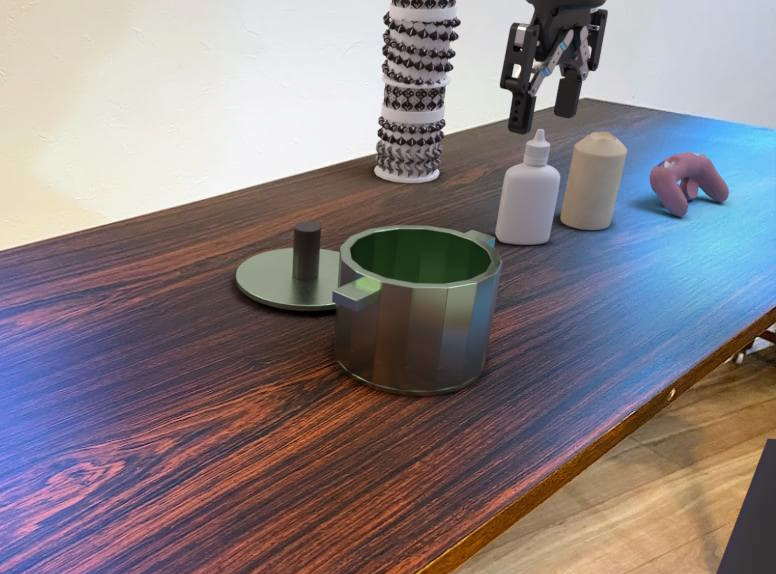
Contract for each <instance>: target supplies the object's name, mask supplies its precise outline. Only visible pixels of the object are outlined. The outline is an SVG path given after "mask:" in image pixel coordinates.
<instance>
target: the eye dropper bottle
mask: <svg viewBox="0 0 776 574" xmlns="http://www.w3.org/2000/svg"><path fill="white" fill-rule="evenodd" d="M550 150H551V143H550V142H548V141H546V139H545V129H544V128H543V129H542V128H538V129H537V130H536V133H535V134H534V138H532V139H531V140H528V141H526V143H525V148H524V155H523V160H522V162H521V163H519V164H515V165H513V166H511V167H509V168H507V170H506V171H505V173H504V177H503V183H502V190H501V196H500V201H499V208H498V214H497V220H496V225H495V230H494V231H495V232H494V234H495V236H496V237H495V238H496V239H497V240H498V242H500V243H502V244H507V245H517V246H534V245H542V244H543V245H544V244H545V243H548V241H549V240H550V237H551V231H552V226H553V220H554V216H555V210H556V206H557V201H558V195H559V189H560V183H561V174H560V172H559V171H558V169H556V168H555V167H553V166H551V165H550V164H548V162H549V161H548V160H549V156H550Z"/></svg>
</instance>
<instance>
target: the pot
mask: <svg viewBox="0 0 776 574" xmlns="http://www.w3.org/2000/svg"><path fill="white" fill-rule="evenodd" d="M495 245H496V237H495V236H493V235H490V234H486V233H484V232H480V231H478V230H474V229H471V230H468V231H466V232H461V231H458V230H455V229H451V228H445V227H437V226H431V225H423V224H421V225H419V224H417V225H415V224H413V225H412V224H409V225H408V224H393V225H387V226H381V227H374V228H373V227H372V228H368V229H366V230H363V231H361V232H358V233H356V234H353V235H350V236H348V238H347V239H346V241H344V243H342V245H341V246H340V247H339V252H340V257H339V272H338V288H337V289H335V290H333V294H332V302H333V303H336V309H335V322H334V336H333V337H334V338H333V347H334V349H333V350H334V353H333V356H334V360H335V362H336V365H337V366H338V368H339V369H340V371H342V372H343V373H344V374H345V375H346V376H347V377H349V378H350V379H352V380H353V381H356V382H357V383H359V384H360V385H363V386H366V387H368V388H370V389H374V390H377V391H380V392H384V393H388V394H393V395H398V396H399V395H401V396H406V397H407V396H408V397H432V396H440V395H446V394H451V393H455V392H458V391H460V390H463V389H465V388H468V387H469V386H471V385H472V384H474V383H475V382H476V381H477V380H478V379H479V378H480V377H481V375H482V373H483V371H484V367H485V364H486V361H487V356H488V351H489V345H490V339H491V333H492V326H493V321H494V315H495V309H496V303H497V298H498V292H499V285H500V281H501V280H500V279H501V275H502V274H501V273H502V268H503V260H502V258H501V255H500V254H499V252H498V250H497V249H496V248H495Z"/></svg>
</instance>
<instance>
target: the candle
mask: <svg viewBox="0 0 776 574" xmlns="http://www.w3.org/2000/svg"><path fill="white" fill-rule="evenodd" d="M627 154H628V149H627V147H626V146H625V145H624V144H623V142H622V141H621V140H619V139H618V138H617V137H616V136H615V135H614V134H612V133H610V132H609V131H593V132H591V133H590V134H587V135H586V136H585V137H583V138H582V139H580V140H579V141H577V142H576V143H575V144H574V145H573V151H572V157H571V162H570V165H569V171H568V176H567V181H566V186H565V191H564V196H563V201H562V206H561V212H560V221H561V223H562V224H564V225H565V226H568V227H571V228H574V229H578V230H583V231H601V230H605V229H607V228H609V227H610V225H611V222H612V220H613V219H612V218H613V215H614V211H615V206H616V201H617V197H618V194H619V189H620V185H621V182H622V181H621V180H622V177H623V172H624V168H625V163H626V159H627Z"/></svg>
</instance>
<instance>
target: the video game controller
mask: <svg viewBox="0 0 776 574" xmlns="http://www.w3.org/2000/svg"><path fill="white" fill-rule="evenodd" d="M678 182H679V183H678ZM649 184H650V188H651V190H652V191H653V193H655V194H656V196H657V197H658V199H659V201H660V203H661V205H663V206H664V208H665V209H666V210H667V211H668V212H669V213H670V214H671V215H674V216H676V217H680V218H681V217H684V216H685V215H686V214H687V213H688V210H689V204H688V203H689V202H688V201H691V200H693V199H696V198H697V197H698V194H699V188H700V190H701V191H702V192H703V193H704V194H705V195H706V196H707V197H708V198H710V199H711V200H713V201H715V202H718V203H724V202H726V201H727V200H728V199H729V196H730V195H729V194H730V190H729V187H728V184H727V183H726V181H725V179H723V177H722V175H721V174H720V173H719V172H718V171H717V169H716V167H715V165H714V163H713V161H712V160H711V159H710V158H709V157H707V155H706V153H705V152H702V153H696V152H692V151H687V152H679V153H675V154H672V155H670V156H668V157H666V158H664V159H663V160H662V161H661V162H659V163H658V164H656V165H654V166H653V167H652V168H651V170H650V172H649Z"/></svg>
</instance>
